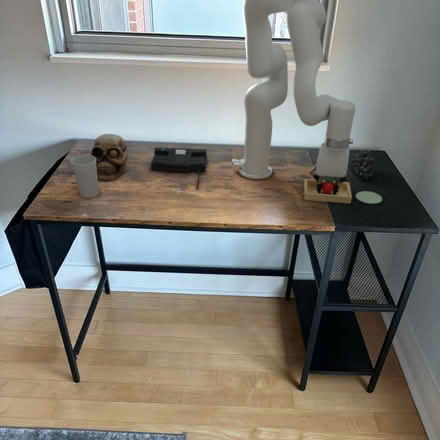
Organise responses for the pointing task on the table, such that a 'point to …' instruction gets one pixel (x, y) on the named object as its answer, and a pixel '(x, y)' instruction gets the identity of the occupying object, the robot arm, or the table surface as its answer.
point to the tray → (340, 197)
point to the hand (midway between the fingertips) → (326, 193)
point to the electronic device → (180, 160)
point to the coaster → (368, 197)
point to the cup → (86, 175)
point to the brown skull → (109, 156)
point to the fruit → (364, 164)
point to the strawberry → (327, 186)
